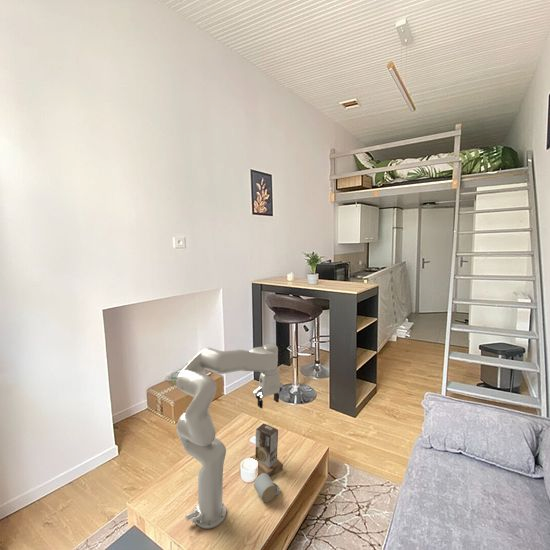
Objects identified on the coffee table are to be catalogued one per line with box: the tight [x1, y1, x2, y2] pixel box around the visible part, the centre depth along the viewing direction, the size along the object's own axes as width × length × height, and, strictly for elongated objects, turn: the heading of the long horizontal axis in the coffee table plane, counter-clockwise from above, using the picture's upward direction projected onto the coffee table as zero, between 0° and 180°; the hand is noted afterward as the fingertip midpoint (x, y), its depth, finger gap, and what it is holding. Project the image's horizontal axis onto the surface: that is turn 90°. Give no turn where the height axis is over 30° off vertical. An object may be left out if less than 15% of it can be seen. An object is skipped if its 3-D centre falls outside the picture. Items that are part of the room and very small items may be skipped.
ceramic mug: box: [253, 473, 281, 503], centre depth 133 cm, size 11×8×8 cm
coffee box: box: [254, 423, 279, 468], centre depth 149 cm, size 9×6×16 cm
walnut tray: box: [250, 454, 284, 478], centre depth 150 cm, size 10×13×3 cm
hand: (268, 404), depth 150 cm, fingers open, 9 cm apart
